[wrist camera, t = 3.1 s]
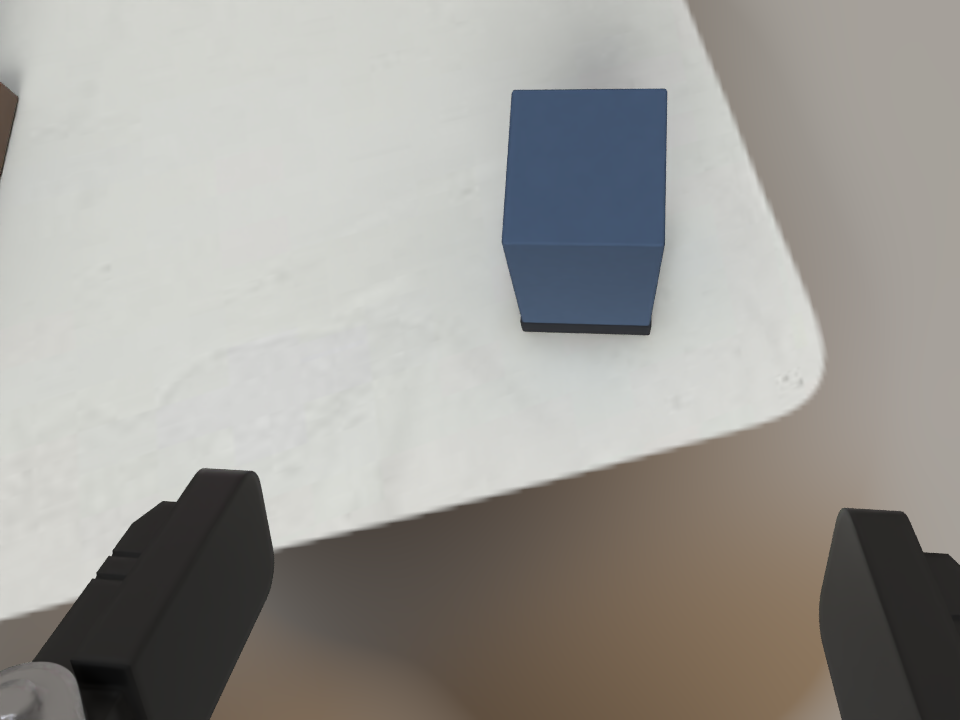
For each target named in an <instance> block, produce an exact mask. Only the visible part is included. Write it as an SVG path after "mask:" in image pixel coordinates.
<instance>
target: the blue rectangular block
mask: <svg viewBox="0 0 960 720" xmlns="http://www.w3.org/2000/svg"><path fill="white" fill-rule="evenodd" d="M666 138H667V90H666V89H569V90H513V92H512V97H511V112H510V127H509V142H508V156H507V171H506V186H505V201H504V216H503V230H502V245H503V249H504V253H505V257H506V260H507V264H508V268H509V272H510V276H511V280H512V284H513V287H514V291H515V295H516V299H517V303H518V307H519V310H520V314H521V326H522V329H523V331H528V332H562V333H596V334H630V335H649V334H650V330H651V315H652V309H653V304H654V299H655V294H656V288H657V283H658V278H659V272H660V267H661V262H662V256H663V251H664V246H665V198H666Z"/></svg>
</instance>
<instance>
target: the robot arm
mask: <svg viewBox="0 0 960 720" xmlns="http://www.w3.org/2000/svg"><path fill="white" fill-rule="evenodd" d="M273 572H274V552H273V546H272V541H271V536H270V531H269V525H268V520H267V515H266V510H265V504H264V499H263V494H262V489H261V484H260V480H259V477H258V476H257V474H256V473H255V472H253V471H243V470H226V469H209V468H203V469H201V470H199V471H198V472H197V473H196V474H195V476H194V477H193V479H192V480H191V481H190V483H189V484H188V486H187V487H186V489H185V490H184V492H183V493H182V495H181V496H180V498H179V499H178V501H177V502H169V501H162V502H161V503H159V504H158V505H157V506H155V507H154V508H153V509H151V510H150V511H149V512H147V513H146V514H145V515H143V516H142V517H141V518H139V519H138V520H136V521H135V522H134V523H132V525H131V526H130V527H129V529H128V530H127V531H126V533H125V534H124V536H123V537H122V538H121V540H120V541H119V542H118V544H117V545H116V547H115V548H114V549H113V554H112V556H108V558H107V559H106V560H105V562H104V563H103V565H102V566H101V567H100V569H99V570H98V571H97V576H96V579H92V580H91V581H90V583H89V584H88V585H87V587H86V588H85V589H84V591H83V592H82V594H81V595H80V596H79V598H78V599H77V600H76V602H75V603H74V605H73V606H72V608H71V609H70V610H69V612H68V613H67V614H66V616H65V617H64V618H63V620H62V621H61V623H60V624H59V625H58V627H57V628H56V630H55V631H54V632H53V634H52V635H51V636H50V638H49V639H48V641H47V642H46V643H45V645H44V646H43V647H42V649H41V650H40V652H39V653H38V655H37V656H36V657H35V659H34V660H33V661H32V662H29V663H24V664H19V665H16V666H13V667H9V668H7V669H4V670H2V671H0V720H210V718H211V715H212V713H213V711H214V709H215V707H216V705H217V703H218V701H219V698H220V696H221V694H222V692H223V690H224V688H225V686H226V683H227V681H228V679H229V677H230V675H231V673H232V671H233V669H234V666H235V664H236V662H237V660H238V658H239V656H240V654H241V652H242V650H243V647H244V645H245V643H246V641H247V639H248V637H249V635H250V633H251V630H252V628H253V626H254V624H255V622H256V620H257V618H258V616H259V613H260V612H261V609H262V607H263V605H264V603H265V601H266V599H267V596H268V594H269V591H270V588H271V584H272V578H273ZM819 622H820V632H821V639H822V644H823V648H824V652H825V655H826V660H827V664H828V667H829V671H830V675H831V679H832V683H833V686H834V691H835V695H836V699H837V703H838V707H839V710H840V714H841V718H842V720H960V565H959V564H958V563H957V562H956V561H955V560H954V559H953V558H952V557H951V556H949V554H939V553H924V552H923V551H922V548H921V546H920V544H919V542H918V539H917V537H916V535H915V532H914V530H913V528H912V525H911V523H910V521H909V519H908V517H907V515H906V514H904V512H901V511H886V510H870V509H854V508H842V509H841V510H840V512H839V514H838V516H837V520H836V524H835V529H834V533H833V538H832V543H831V548H830V552H829V557H828V562H827V566H826V571H825V575H824V580H823V585H822V589H821V595H820V605H819Z"/></svg>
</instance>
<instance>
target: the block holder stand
mask: <svg viewBox="0 0 960 720" xmlns="http://www.w3.org/2000/svg"><path fill="white" fill-rule="evenodd" d="M17 101H18V97H17V96H16V95H15V94H14V93H13V92H12V91H10V90H9V89H8V88H7V87H6V86H5V85H4V84H3V83H1V82H0V175H1V170H2V166H3V162H4V157H5V153H6V148H7V144H8V140H9V135H10V131H11V127H12V122H13V118H14V114H15V109H16V105H17Z"/></svg>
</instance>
